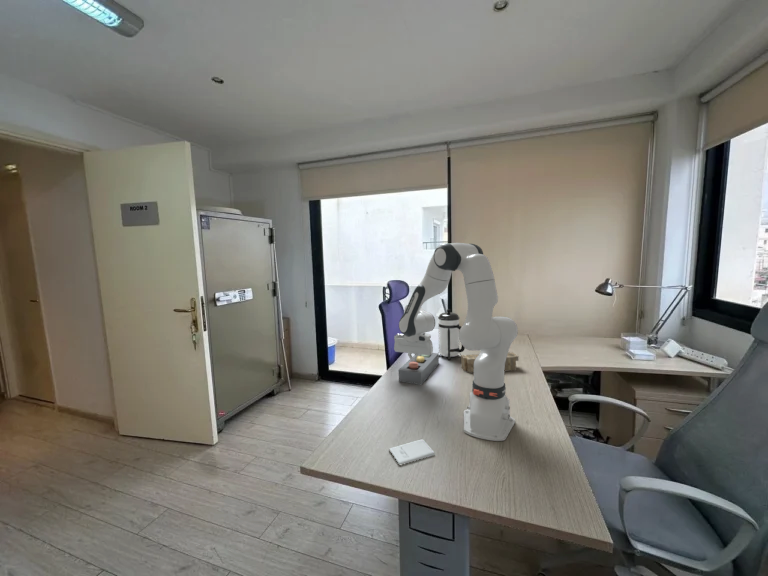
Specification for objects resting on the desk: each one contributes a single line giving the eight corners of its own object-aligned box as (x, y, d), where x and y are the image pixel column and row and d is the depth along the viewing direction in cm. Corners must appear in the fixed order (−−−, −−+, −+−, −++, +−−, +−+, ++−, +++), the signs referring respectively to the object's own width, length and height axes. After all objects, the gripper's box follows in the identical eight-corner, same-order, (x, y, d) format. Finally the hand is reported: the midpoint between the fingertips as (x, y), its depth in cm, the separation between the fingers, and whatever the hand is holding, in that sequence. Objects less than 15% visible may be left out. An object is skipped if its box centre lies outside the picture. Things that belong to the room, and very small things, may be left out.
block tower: (465, 374, 166) (519, 370, 167) (465, 359, 165) (518, 355, 166) (461, 369, 174) (512, 365, 175) (460, 354, 173) (512, 350, 174)
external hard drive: (434, 456, 99) (399, 467, 94) (422, 442, 106) (388, 452, 102) (434, 452, 99) (399, 462, 94) (422, 438, 106) (388, 447, 102)
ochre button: (422, 362, 166) (422, 359, 165) (414, 361, 168) (414, 358, 168) (425, 360, 170) (425, 356, 170) (417, 359, 172) (417, 355, 172)
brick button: (416, 369, 157) (416, 365, 156) (407, 368, 159) (407, 364, 159) (419, 366, 161) (419, 362, 161) (410, 365, 163) (410, 361, 163)
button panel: (421, 384, 153) (421, 372, 152) (398, 381, 158) (398, 369, 157) (438, 363, 181) (438, 353, 181) (419, 361, 186) (419, 351, 186)
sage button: (428, 359, 175) (428, 356, 175) (420, 358, 177) (420, 355, 177) (430, 357, 179) (430, 353, 179) (422, 356, 181) (422, 352, 181)
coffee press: (435, 360, 187) (434, 311, 184) (438, 352, 202) (438, 306, 199) (464, 362, 182) (464, 311, 179) (466, 353, 197) (465, 307, 194)
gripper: (391, 335, 160) (392, 360, 161) (430, 338, 151) (430, 365, 153) (396, 332, 165) (397, 357, 167) (433, 335, 157) (434, 361, 158)
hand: (413, 361), depth 160 cm, fingers closed
